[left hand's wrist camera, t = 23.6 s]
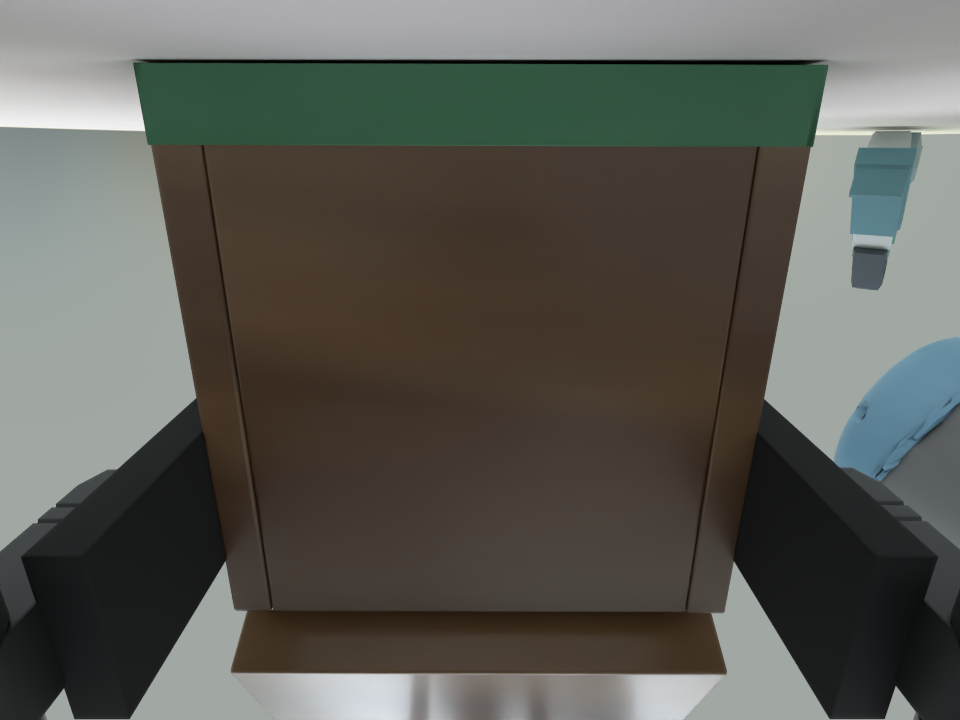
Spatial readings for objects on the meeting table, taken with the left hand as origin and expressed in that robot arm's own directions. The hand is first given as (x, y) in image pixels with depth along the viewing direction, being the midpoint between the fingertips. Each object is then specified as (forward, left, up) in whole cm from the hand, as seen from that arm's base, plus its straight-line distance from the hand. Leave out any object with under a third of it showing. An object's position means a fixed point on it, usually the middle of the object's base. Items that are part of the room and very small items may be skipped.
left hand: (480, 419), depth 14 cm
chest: (0, -5, -7) cm, 8 cm away
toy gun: (+29, -39, -7) cm, 49 cm away
